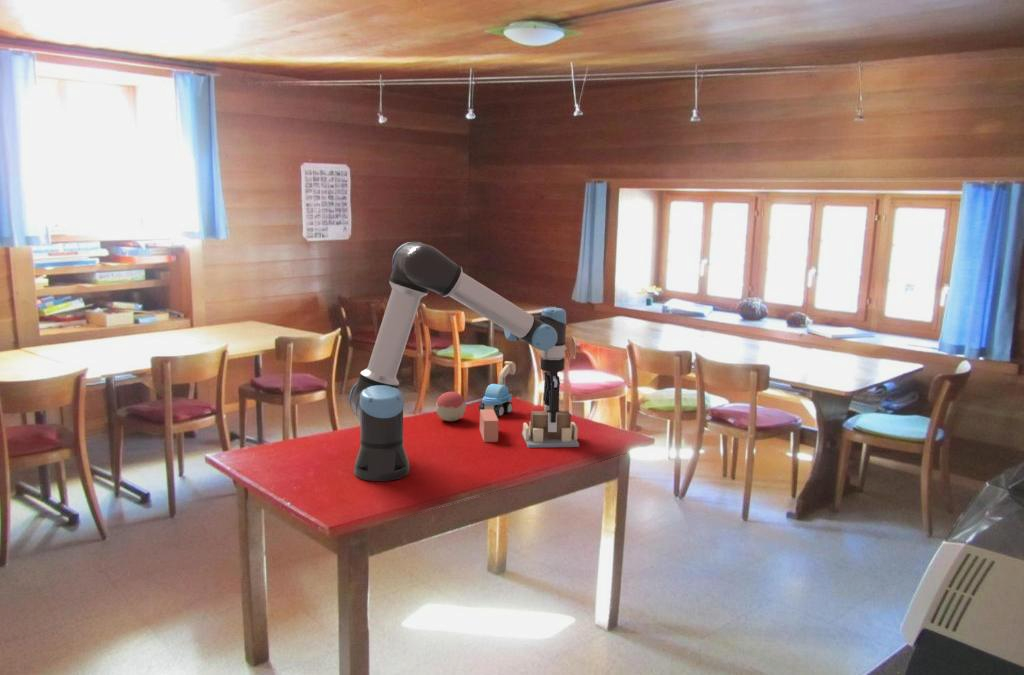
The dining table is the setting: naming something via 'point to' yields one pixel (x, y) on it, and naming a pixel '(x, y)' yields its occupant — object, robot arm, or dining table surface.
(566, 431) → the jig
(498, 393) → the toy excavator
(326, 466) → the dining table surface
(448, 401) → the toy
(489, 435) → the salmon pink block
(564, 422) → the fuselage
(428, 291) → the robot arm
